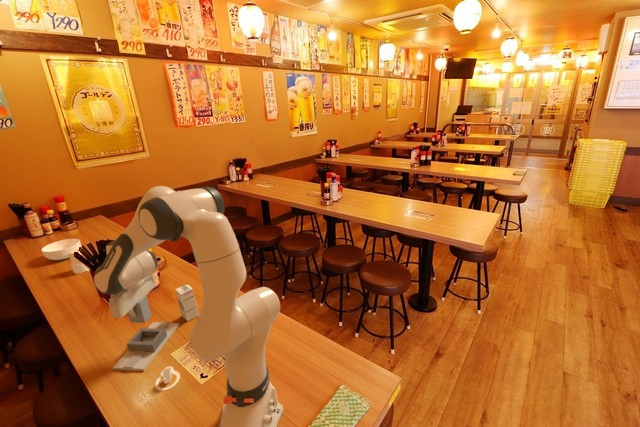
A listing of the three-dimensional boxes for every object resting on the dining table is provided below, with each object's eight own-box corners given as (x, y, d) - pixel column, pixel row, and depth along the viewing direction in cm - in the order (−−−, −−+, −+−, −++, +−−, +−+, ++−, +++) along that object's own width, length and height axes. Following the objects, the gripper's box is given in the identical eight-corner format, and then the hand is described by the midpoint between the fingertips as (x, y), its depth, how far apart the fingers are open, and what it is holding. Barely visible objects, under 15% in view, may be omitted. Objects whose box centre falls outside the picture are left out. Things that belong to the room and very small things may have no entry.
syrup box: (199, 315, 136) (193, 287, 132) (186, 322, 132) (180, 294, 128) (193, 310, 140) (187, 283, 135) (181, 316, 136) (174, 289, 131)
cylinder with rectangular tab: (69, 273, 177) (62, 255, 173) (83, 266, 185) (77, 248, 181) (82, 274, 175) (76, 256, 171) (95, 266, 184) (89, 249, 180)
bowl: (90, 251, 205) (87, 239, 202) (60, 265, 187) (55, 253, 185) (69, 248, 211) (65, 237, 208) (38, 262, 193) (33, 250, 190)
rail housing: (144, 371, 109) (141, 361, 107) (113, 369, 110) (109, 360, 108) (179, 324, 131) (177, 316, 129) (153, 324, 132) (150, 315, 131)
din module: (145, 322, 114) (139, 302, 111) (128, 322, 114) (122, 302, 111) (151, 315, 118) (146, 296, 114) (135, 315, 118) (130, 295, 115)
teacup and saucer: (165, 369, 109) (162, 360, 108) (186, 370, 108) (183, 361, 107) (150, 391, 101) (147, 381, 100) (172, 392, 100) (169, 383, 99)
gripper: (117, 297, 100) (128, 330, 105) (154, 265, 119) (162, 295, 124) (99, 297, 101) (111, 330, 105) (139, 265, 120) (147, 295, 124)
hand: (139, 311), depth 115 cm, fingers closed on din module, 4 cm apart
